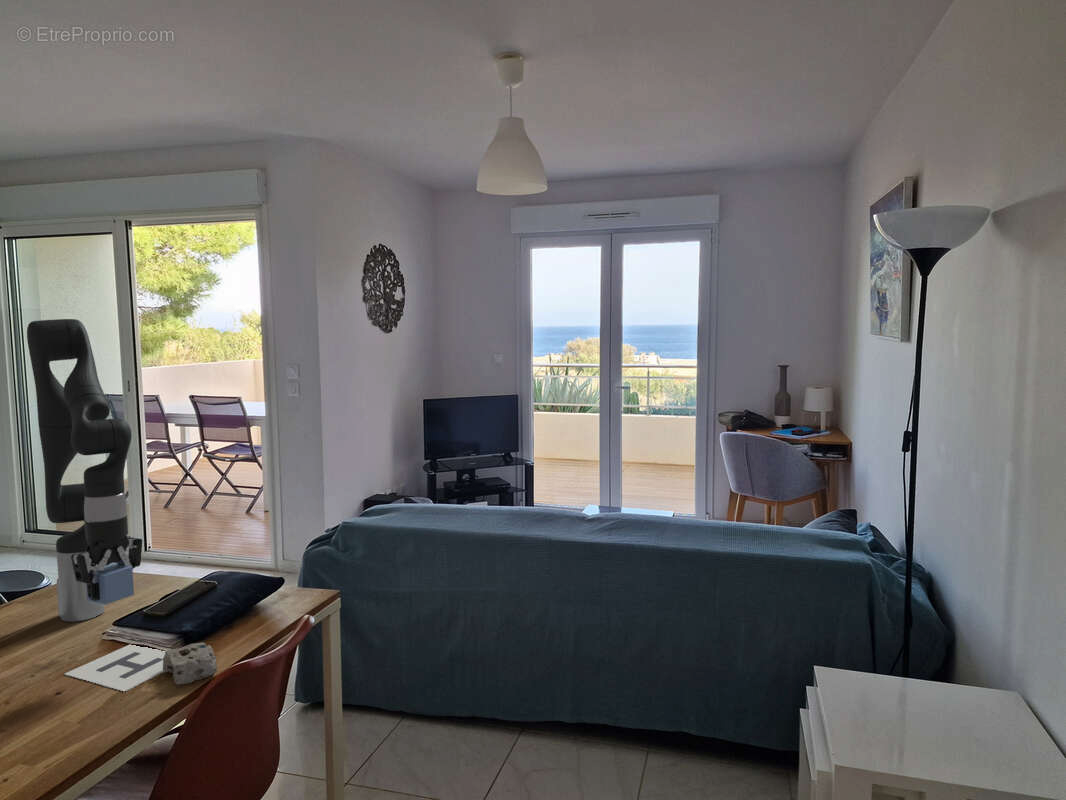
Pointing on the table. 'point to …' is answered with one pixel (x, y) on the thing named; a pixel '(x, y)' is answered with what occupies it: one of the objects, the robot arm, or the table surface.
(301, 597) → the table surface
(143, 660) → the letter card
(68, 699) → the table surface
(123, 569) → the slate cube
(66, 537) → the robot arm
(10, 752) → the table surface
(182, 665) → the stone
